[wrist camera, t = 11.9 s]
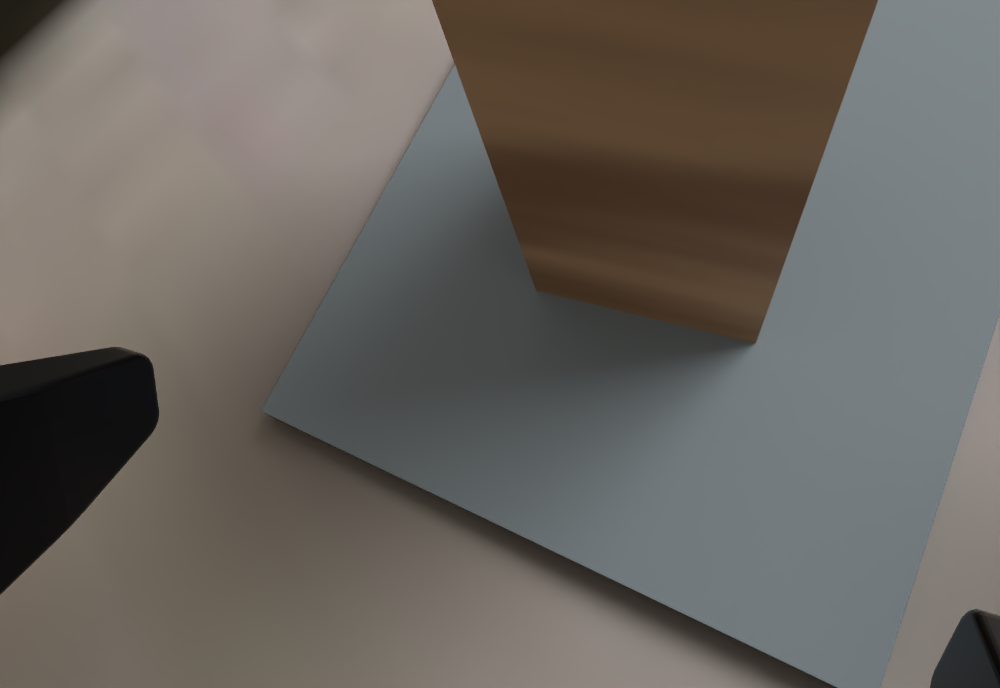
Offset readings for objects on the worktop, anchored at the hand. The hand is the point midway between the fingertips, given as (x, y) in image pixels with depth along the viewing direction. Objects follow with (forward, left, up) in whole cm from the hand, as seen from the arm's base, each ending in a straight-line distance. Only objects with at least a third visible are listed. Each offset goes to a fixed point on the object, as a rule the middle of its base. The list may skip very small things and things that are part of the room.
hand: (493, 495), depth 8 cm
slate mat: (+8, +1, -9) cm, 12 cm away
